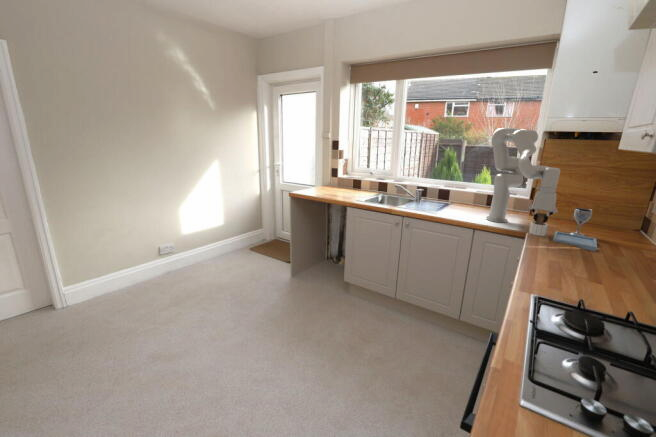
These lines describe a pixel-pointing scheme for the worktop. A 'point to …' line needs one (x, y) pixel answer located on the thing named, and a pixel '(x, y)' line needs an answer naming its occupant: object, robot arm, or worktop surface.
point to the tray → (576, 240)
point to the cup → (538, 229)
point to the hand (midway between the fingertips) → (539, 221)
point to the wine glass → (581, 218)
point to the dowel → (540, 218)
